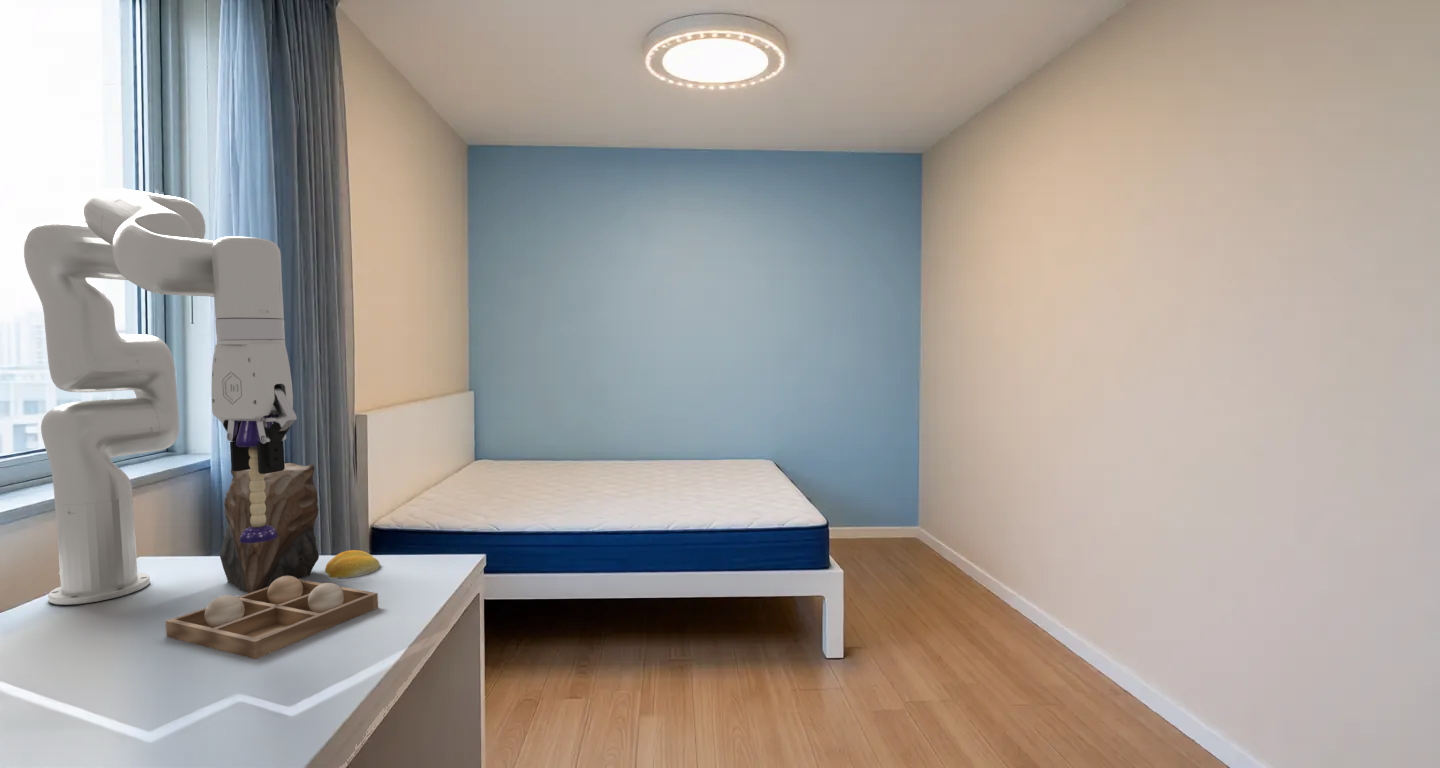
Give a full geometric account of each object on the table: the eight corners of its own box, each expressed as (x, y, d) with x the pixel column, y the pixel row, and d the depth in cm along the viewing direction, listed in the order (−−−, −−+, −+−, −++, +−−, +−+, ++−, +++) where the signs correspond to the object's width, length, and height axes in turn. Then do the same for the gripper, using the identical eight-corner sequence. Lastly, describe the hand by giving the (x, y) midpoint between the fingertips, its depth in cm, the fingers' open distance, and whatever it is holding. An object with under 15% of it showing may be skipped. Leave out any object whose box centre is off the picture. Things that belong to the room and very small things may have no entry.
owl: (218, 584, 119) (211, 467, 118) (299, 565, 129) (293, 457, 128) (247, 600, 112) (240, 475, 110) (331, 578, 122) (325, 463, 120)
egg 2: (261, 609, 105) (259, 579, 105) (290, 599, 110) (288, 570, 109) (281, 614, 104) (280, 583, 103) (310, 603, 108) (309, 573, 107)
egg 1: (197, 632, 97) (195, 599, 97) (232, 620, 101) (230, 588, 101) (219, 637, 95) (217, 604, 95) (253, 624, 100) (251, 592, 99)
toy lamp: (253, 534, 96) (247, 413, 95) (289, 533, 97) (283, 412, 96) (232, 544, 92) (225, 417, 91) (270, 543, 92) (263, 416, 91)
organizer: (167, 642, 96) (165, 620, 96) (294, 596, 113) (293, 578, 113) (256, 665, 89) (254, 641, 89) (378, 612, 106) (377, 593, 105)
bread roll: (333, 587, 118) (332, 563, 118) (322, 574, 125) (320, 552, 125) (386, 575, 123) (385, 553, 123) (372, 563, 130) (371, 542, 130)
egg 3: (301, 618, 102) (299, 586, 102) (329, 606, 106) (328, 576, 106) (323, 622, 100) (321, 590, 100) (351, 611, 104) (350, 580, 104)
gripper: (180, 334, 92) (188, 471, 94) (265, 332, 86) (273, 480, 87) (238, 334, 99) (245, 462, 100) (322, 332, 93) (328, 470, 94)
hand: (258, 469), depth 94 cm, fingers closed on toy lamp, 4 cm apart
